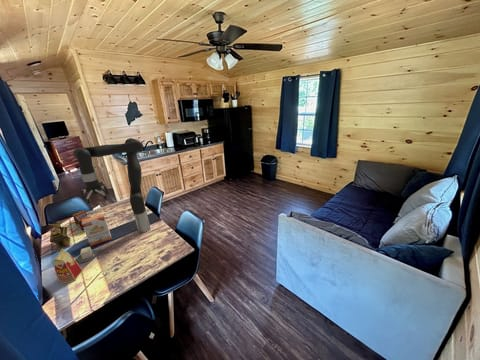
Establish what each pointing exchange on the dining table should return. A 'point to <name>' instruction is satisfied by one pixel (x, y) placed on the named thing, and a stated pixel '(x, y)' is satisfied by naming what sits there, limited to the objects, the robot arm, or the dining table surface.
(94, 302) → the dining table surface
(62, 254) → the milk carton
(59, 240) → the olive piece
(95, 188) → the robot arm
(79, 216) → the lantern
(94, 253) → the disc
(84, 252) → the cube
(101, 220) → the cracker box
